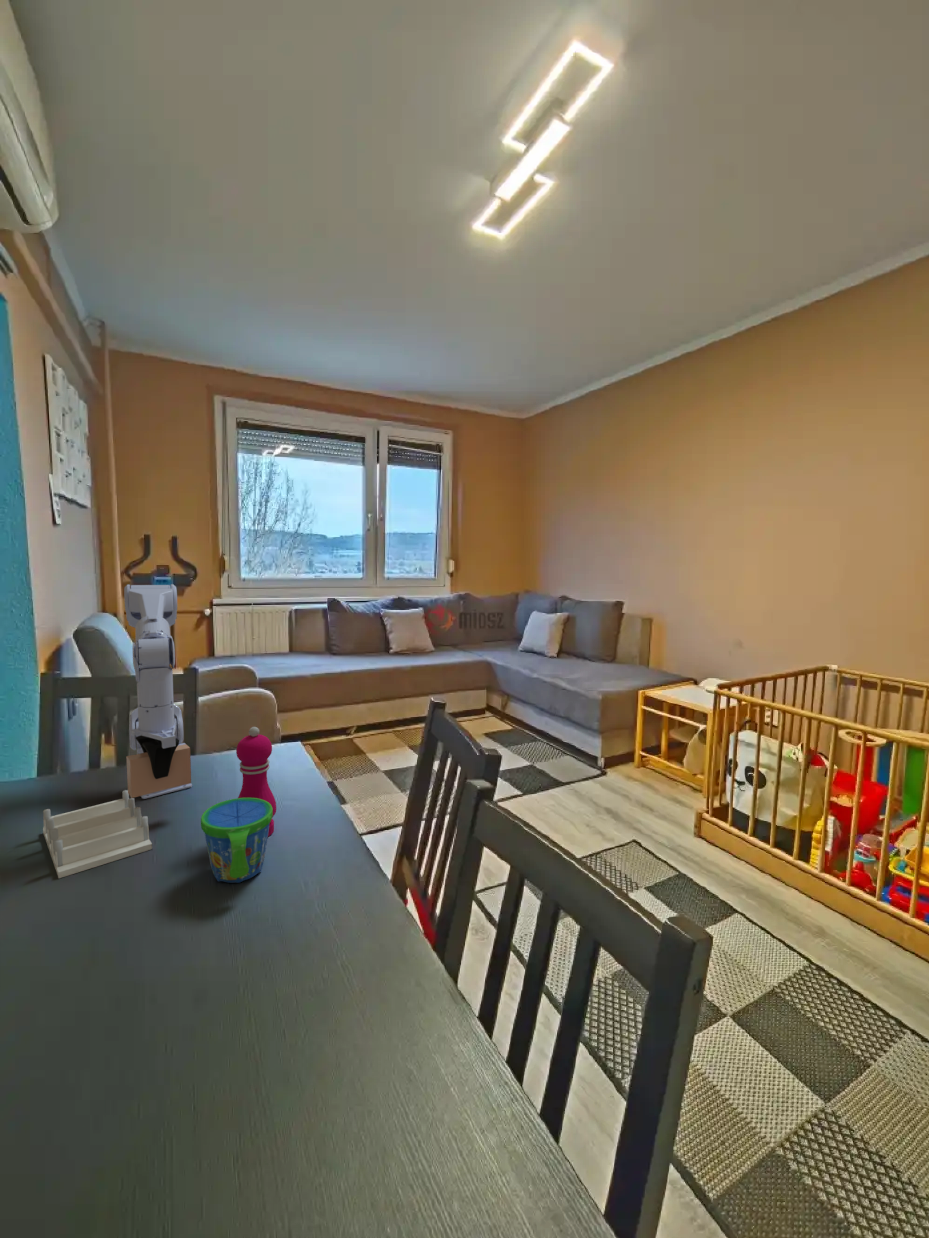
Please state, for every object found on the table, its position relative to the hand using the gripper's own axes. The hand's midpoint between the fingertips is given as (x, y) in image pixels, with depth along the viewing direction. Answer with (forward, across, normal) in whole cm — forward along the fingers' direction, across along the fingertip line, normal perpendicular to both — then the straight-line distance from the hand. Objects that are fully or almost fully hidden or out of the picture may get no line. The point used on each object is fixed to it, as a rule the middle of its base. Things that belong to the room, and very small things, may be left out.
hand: (158, 774), depth 101 cm
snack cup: (+10, +25, +4) cm, 27 cm away
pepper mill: (+10, +15, +12) cm, 21 cm away
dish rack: (+9, 0, -10) cm, 14 cm away
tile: (+3, 0, 0) cm, 3 cm away
